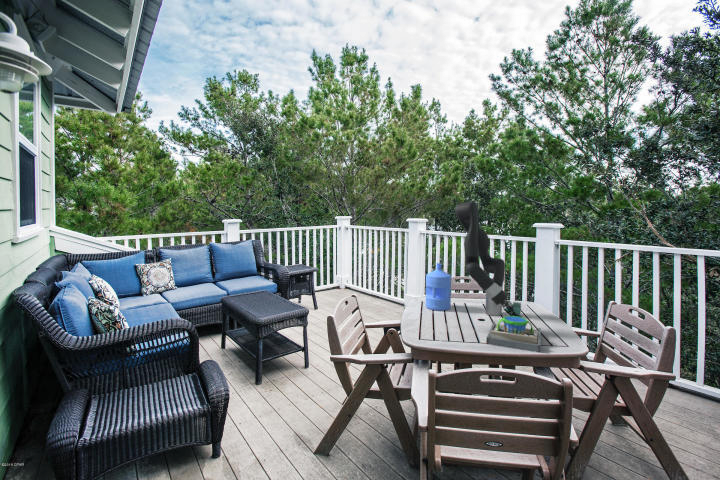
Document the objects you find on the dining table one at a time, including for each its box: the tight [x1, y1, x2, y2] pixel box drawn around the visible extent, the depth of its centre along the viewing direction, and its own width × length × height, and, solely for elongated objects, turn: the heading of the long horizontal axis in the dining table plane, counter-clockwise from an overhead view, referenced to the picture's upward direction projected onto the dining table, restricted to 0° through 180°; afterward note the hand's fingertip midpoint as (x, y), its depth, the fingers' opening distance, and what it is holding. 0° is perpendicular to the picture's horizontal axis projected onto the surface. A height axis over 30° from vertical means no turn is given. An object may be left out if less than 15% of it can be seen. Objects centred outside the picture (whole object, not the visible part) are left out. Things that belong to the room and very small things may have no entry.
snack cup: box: [497, 315, 534, 335], centre depth 172 cm, size 16×10×10 cm
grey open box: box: [490, 301, 538, 344], centre depth 174 cm, size 23×20×14 cm
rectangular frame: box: [486, 321, 542, 353], centre depth 174 cm, size 26×22×3 cm
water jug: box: [425, 262, 452, 312], centre depth 228 cm, size 16×16×28 cm
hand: (520, 319), depth 182 cm, fingers closed on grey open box, 3 cm apart
